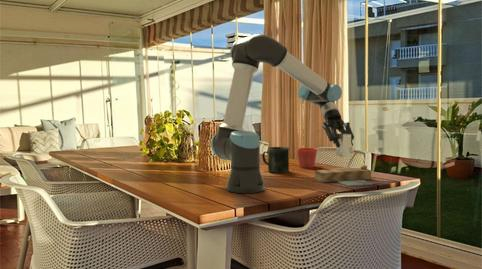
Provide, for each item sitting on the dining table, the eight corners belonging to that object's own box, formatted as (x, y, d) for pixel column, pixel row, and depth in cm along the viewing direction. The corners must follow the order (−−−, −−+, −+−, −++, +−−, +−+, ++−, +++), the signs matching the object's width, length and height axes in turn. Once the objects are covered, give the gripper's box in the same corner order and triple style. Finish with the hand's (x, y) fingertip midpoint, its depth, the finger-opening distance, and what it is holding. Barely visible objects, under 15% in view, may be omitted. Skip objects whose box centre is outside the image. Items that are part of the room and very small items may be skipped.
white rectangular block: (342, 157, 182) (343, 134, 181) (336, 155, 188) (336, 133, 187) (350, 156, 183) (351, 134, 182) (344, 155, 189) (344, 133, 188)
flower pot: (293, 165, 226) (293, 148, 226) (311, 164, 230) (311, 147, 229) (301, 168, 216) (301, 150, 216) (320, 167, 220) (320, 149, 219)
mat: (348, 186, 170) (348, 185, 170) (337, 182, 178) (337, 181, 178) (373, 184, 173) (373, 183, 172) (362, 180, 181) (362, 179, 181)
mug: (284, 174, 201) (284, 149, 200) (257, 171, 208) (257, 148, 207) (292, 170, 210) (292, 147, 209) (267, 168, 217) (267, 146, 216)
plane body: (321, 182, 180) (321, 169, 179) (314, 179, 186) (314, 166, 186) (371, 178, 186) (371, 166, 185) (362, 176, 192) (363, 164, 192)
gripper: (344, 119, 201) (361, 156, 186) (312, 119, 197) (327, 157, 182) (350, 108, 196) (368, 146, 181) (317, 108, 191) (332, 147, 177)
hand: (347, 152), depth 181 cm, fingers closed on white rectangular block, 4 cm apart
